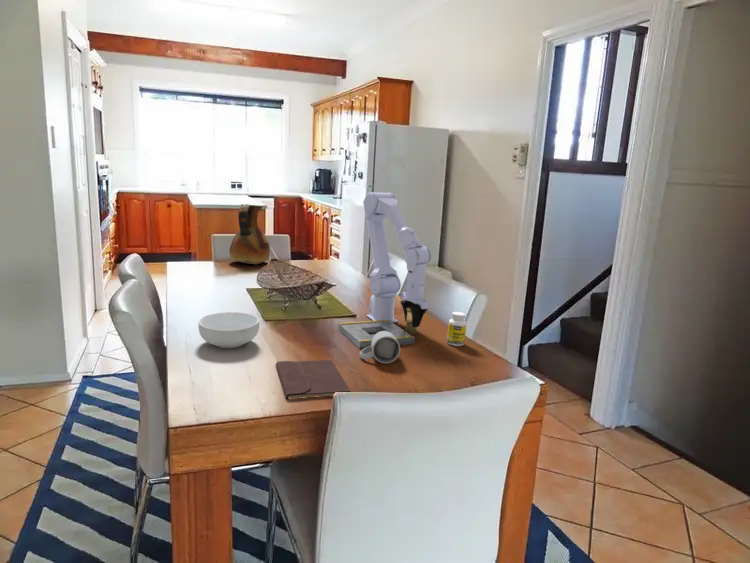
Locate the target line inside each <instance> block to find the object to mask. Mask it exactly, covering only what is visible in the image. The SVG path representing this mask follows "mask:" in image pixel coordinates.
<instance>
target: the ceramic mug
mask: <svg viewBox="0 0 750 563" xmlns="http://www.w3.org/2000/svg"><path fill="white" fill-rule="evenodd" d="M374 334H375V335H374ZM374 334H373V335H374V337H373V338H372V342H371V346H368V347H366V348H362V349H361V350H360V352H359V356H360V358H361V360H369V359H371V358H374V359H375V360H376V361H377V362H379V363H380V364H385V365H386V364H392V363H393V362H395V361H396V360H397V359H398V358H399V356H400V353H401V345H399V342H398V341H397V339H396V338H395V336H394V335H393V334H392V333H390V332H388V331H380V332H378V333H374Z"/></svg>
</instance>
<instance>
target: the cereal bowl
mask: <svg viewBox="0 0 750 563" xmlns="http://www.w3.org/2000/svg"><path fill="white" fill-rule="evenodd" d="M259 330H260V319H259V317H258V316H256V315H254V314H251V313H247V312H246V313H245V312H234V311H232V312H227V311H225V312H217V313H211V314H207V315H206V316H203V317H201V318H200V319H199V320H198V333H199V335H200V337H201V338H202V339H203V341H205V342H207V344H210V345H214V346H216V347H218V348H222V349H235V348H239V347H241V346H243V345H245V344H246V343H247V344H248V343H250V342H251V341H252V340H253V339H254V338H256V336H257V335H258V333H259Z"/></svg>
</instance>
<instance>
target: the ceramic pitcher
mask: <svg viewBox="0 0 750 563" xmlns="http://www.w3.org/2000/svg"><path fill="white" fill-rule="evenodd" d="M263 207H264V206H262V205H255V204H248V203H245V204H240V207H239V210H238V212H237V213H238V214H237V215H238V218H237V219H238V225H239V230H238V231H237V232H236V233H235V235H234V236H233V239H232V241H231V243H230V247H229V257H230V258H231V260H233V261H236V262H239V263H244V264H253V265H259V264H261V263H264V262H267V261H268V260H269V259H270V254H271V250H270V248H271V247H270V243H269V239H268V238H267V236H266V234H265V233H264V232H263V230H261V229H260V228H259V226H258V225H259V224H258V216H259V212H260V211H261V210H262V209H263Z"/></svg>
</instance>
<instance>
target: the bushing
mask: <svg viewBox="0 0 750 563" xmlns="http://www.w3.org/2000/svg"><path fill="white" fill-rule="evenodd" d="M406 310H407V320H406V321H405V331H406V332H407V333H409V334H411V335H412V334H414V335H415V334H417V333H419V327H413V326H412V313H411V309H410V306H408V307H407V308H406Z"/></svg>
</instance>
